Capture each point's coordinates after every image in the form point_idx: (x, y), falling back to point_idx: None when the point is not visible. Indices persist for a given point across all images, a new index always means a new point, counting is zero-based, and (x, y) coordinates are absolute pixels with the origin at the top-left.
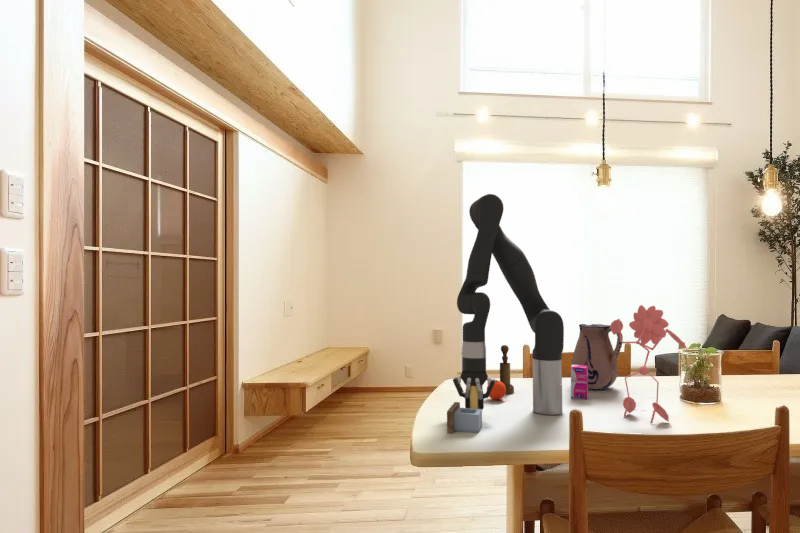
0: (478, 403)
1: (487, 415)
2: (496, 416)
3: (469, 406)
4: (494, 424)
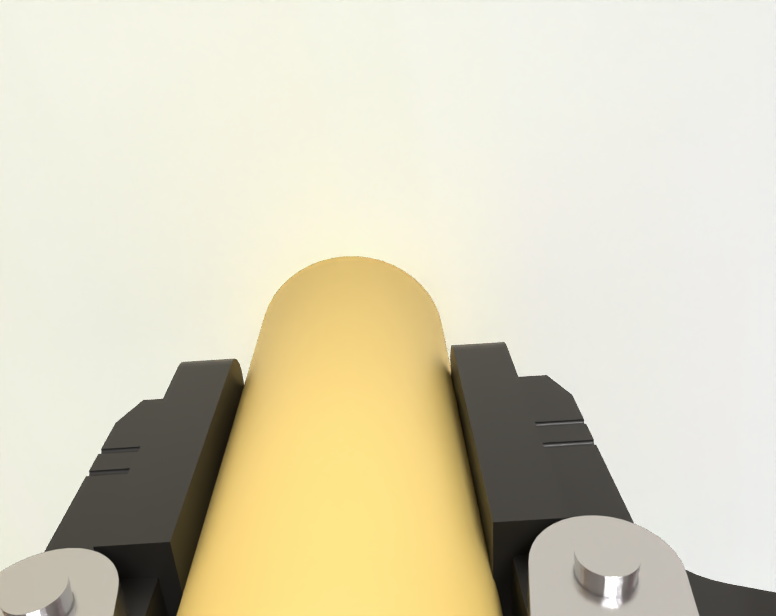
0: None
1: (581, 121)
2: (772, 142)
3: None
4: None
